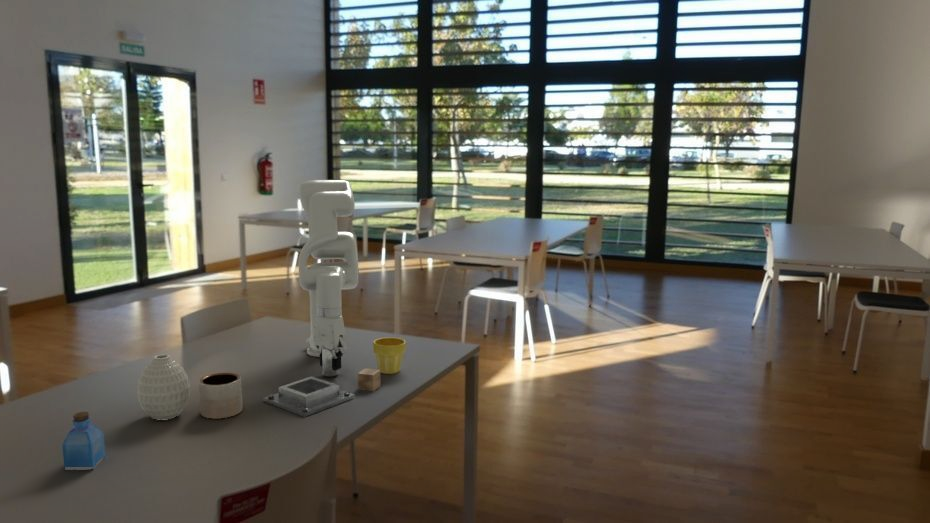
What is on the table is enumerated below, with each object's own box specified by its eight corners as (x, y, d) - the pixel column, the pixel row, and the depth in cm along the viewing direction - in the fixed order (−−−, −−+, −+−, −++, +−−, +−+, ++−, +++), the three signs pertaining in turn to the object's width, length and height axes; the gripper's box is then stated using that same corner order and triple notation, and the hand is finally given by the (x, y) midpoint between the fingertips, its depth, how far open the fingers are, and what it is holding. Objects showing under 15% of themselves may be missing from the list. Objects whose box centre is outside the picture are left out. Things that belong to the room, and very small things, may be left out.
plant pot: (408, 366, 228) (408, 337, 227) (402, 376, 218) (402, 346, 217) (377, 364, 229) (377, 336, 228) (370, 375, 219) (369, 345, 218)
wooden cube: (358, 389, 207) (357, 373, 206) (365, 383, 212) (365, 368, 211) (373, 391, 205) (373, 375, 205) (380, 385, 210) (380, 370, 209)
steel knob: (317, 373, 218) (316, 343, 216) (331, 368, 222) (330, 339, 220) (329, 378, 214) (329, 347, 212) (343, 373, 219) (343, 342, 217)
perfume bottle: (77, 458, 160) (73, 409, 158) (105, 457, 161) (101, 408, 159) (64, 471, 154) (59, 420, 152) (93, 470, 155) (89, 419, 153)
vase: (166, 429, 177) (162, 366, 174) (128, 421, 181) (123, 360, 179) (202, 411, 189) (198, 352, 186) (164, 404, 193) (160, 346, 190)
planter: (251, 408, 192) (249, 374, 190) (225, 422, 182) (223, 387, 180) (218, 402, 195) (216, 370, 194) (191, 417, 185) (189, 382, 183)
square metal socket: (263, 401, 196) (262, 387, 196) (313, 384, 211) (312, 371, 210) (304, 416, 186) (304, 402, 185) (354, 397, 200) (354, 384, 199)
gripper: (301, 308, 216) (303, 364, 220) (339, 319, 206) (340, 376, 210) (320, 304, 222) (321, 358, 226) (357, 313, 212) (358, 370, 216)
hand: (330, 366), depth 218 cm, fingers closed on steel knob, 5 cm apart
